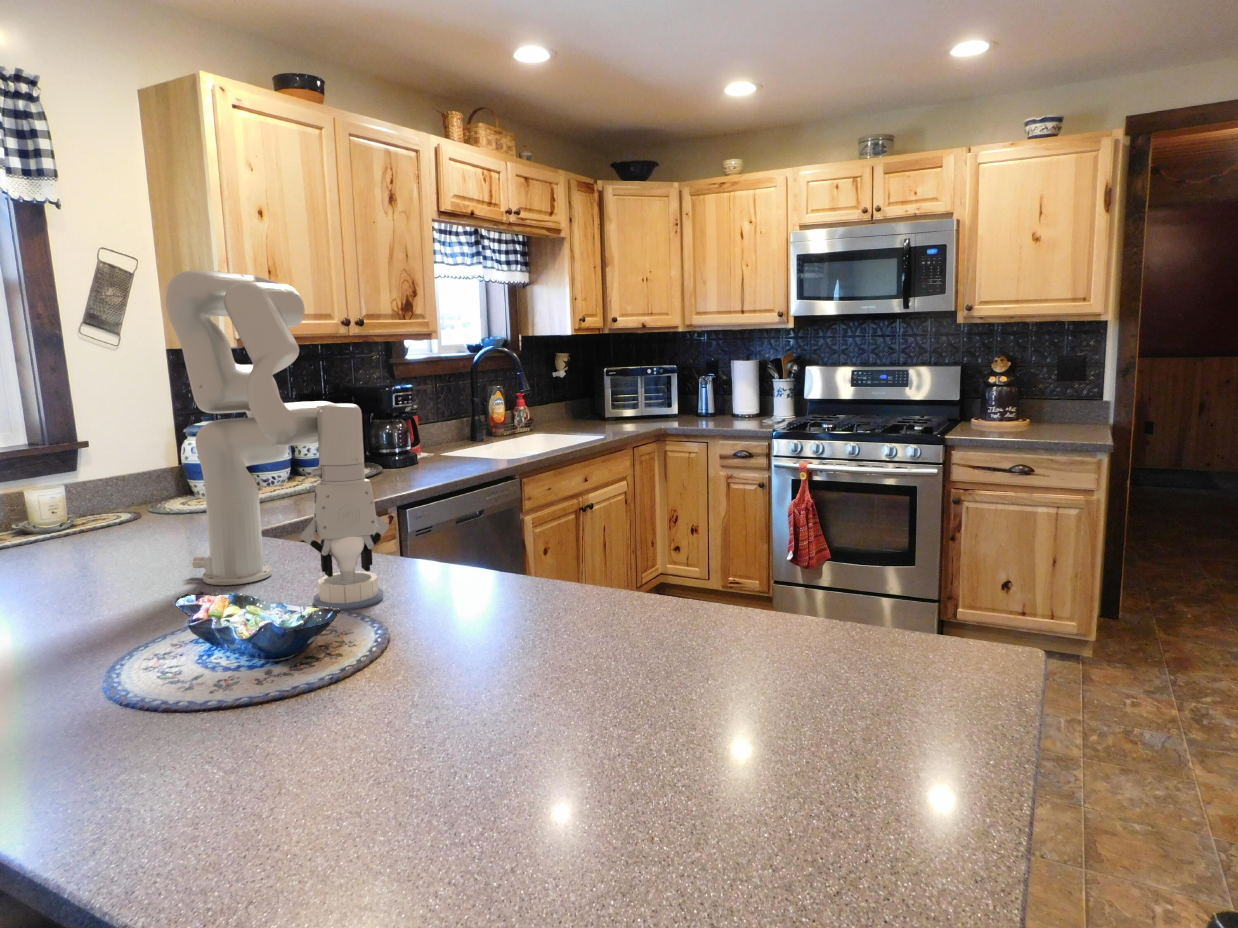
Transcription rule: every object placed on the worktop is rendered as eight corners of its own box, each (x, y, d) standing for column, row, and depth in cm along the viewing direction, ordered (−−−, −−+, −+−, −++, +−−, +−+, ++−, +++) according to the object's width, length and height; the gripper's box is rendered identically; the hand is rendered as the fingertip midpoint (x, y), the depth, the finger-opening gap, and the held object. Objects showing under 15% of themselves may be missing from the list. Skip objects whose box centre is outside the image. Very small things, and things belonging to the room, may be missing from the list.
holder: (301, 609, 142) (300, 587, 141) (329, 590, 153) (328, 569, 153) (369, 610, 141) (368, 588, 140) (392, 590, 153) (391, 570, 152)
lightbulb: (372, 580, 150) (369, 522, 148) (358, 590, 143) (354, 529, 142) (339, 580, 150) (335, 521, 149) (323, 590, 144) (319, 529, 143)
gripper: (295, 480, 136) (301, 584, 139) (397, 471, 146) (401, 569, 148) (286, 475, 143) (292, 575, 145) (384, 467, 152) (388, 561, 154)
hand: (347, 571), depth 147 cm, fingers closed on lightbulb, 5 cm apart
